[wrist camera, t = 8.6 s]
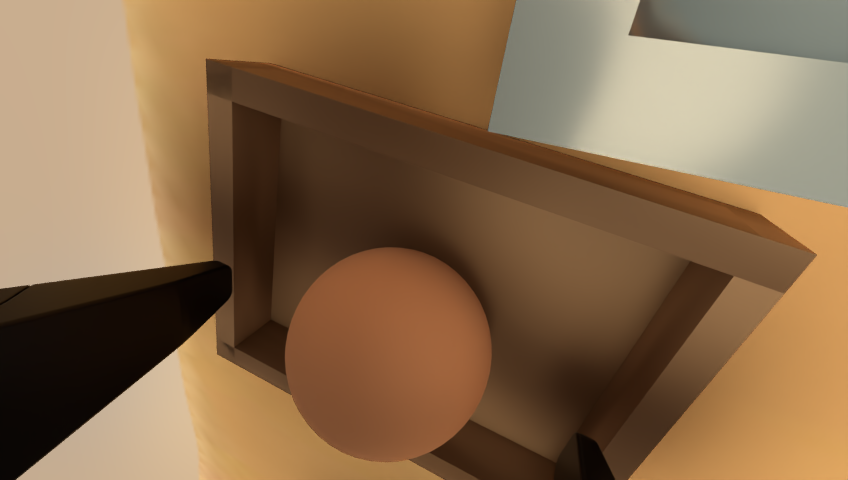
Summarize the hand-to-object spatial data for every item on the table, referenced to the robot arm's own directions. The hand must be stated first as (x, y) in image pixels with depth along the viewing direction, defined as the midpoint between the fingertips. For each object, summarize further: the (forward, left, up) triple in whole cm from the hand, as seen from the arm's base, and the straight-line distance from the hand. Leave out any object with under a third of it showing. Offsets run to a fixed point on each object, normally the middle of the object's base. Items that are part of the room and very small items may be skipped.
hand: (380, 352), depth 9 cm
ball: (0, 0, -1) cm, 1 cm away
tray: (0, 0, -4) cm, 4 cm away
